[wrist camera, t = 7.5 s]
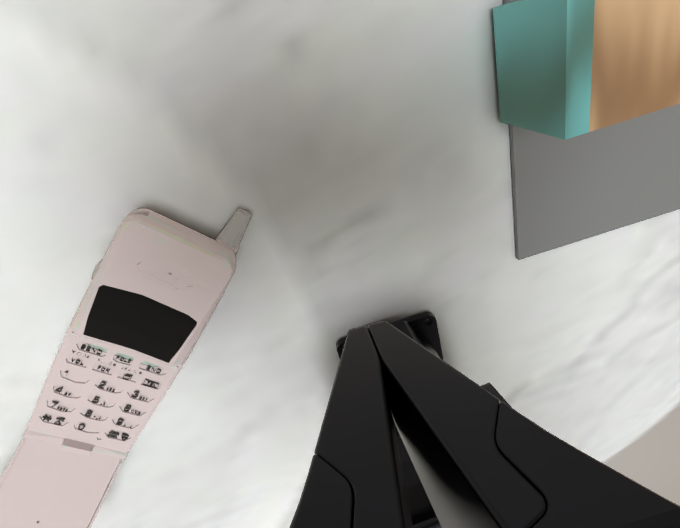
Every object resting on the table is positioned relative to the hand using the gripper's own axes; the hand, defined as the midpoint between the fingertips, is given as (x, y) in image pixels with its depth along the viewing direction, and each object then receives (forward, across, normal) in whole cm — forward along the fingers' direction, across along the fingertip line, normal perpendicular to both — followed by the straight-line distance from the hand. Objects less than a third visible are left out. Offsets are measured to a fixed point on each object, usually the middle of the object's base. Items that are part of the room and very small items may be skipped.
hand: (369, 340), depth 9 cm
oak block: (+10, -10, -3) cm, 14 cm away
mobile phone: (+14, +14, +8) cm, 21 cm away
